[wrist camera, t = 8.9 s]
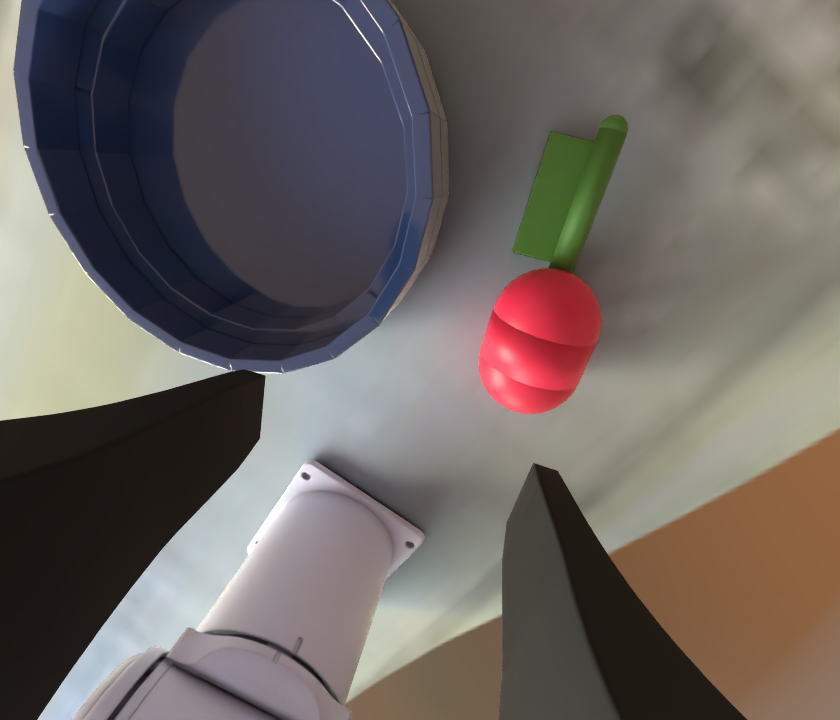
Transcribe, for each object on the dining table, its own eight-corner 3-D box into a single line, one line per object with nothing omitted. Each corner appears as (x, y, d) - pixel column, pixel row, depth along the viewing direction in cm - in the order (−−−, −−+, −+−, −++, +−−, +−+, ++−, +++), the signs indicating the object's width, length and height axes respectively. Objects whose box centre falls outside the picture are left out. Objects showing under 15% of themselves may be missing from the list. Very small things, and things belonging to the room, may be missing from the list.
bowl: (340, 395, 22) (305, 438, 19) (82, 220, 21) (-7, 230, 18) (533, 102, 15) (537, 81, 12) (169, -172, 15) (54, -284, 11)
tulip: (556, 396, 20) (565, 447, 16) (471, 371, 20) (461, 414, 16) (668, 133, 15) (716, 120, 11) (555, 106, 15) (566, 86, 12)
